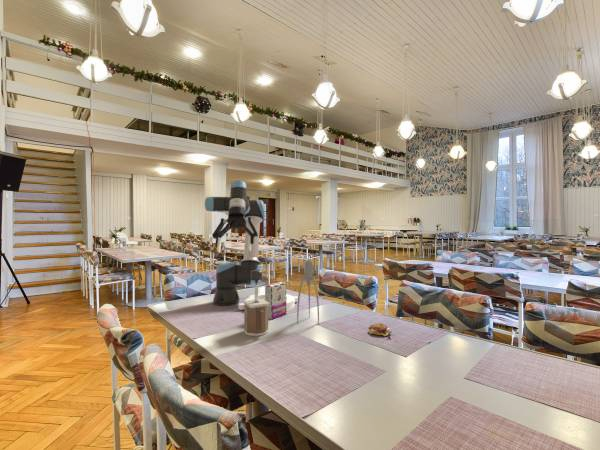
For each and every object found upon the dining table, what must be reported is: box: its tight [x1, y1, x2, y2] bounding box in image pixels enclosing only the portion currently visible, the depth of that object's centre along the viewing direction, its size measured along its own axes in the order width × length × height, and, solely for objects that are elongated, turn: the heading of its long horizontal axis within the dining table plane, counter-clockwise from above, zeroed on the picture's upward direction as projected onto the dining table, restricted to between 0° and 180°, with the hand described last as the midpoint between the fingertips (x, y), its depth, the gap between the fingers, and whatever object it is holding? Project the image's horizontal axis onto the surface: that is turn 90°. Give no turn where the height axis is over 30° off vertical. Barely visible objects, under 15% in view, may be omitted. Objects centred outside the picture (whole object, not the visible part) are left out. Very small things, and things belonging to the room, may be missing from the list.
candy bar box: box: [264, 281, 287, 320], centre depth 157 cm, size 11×5×16 cm, turn 142°
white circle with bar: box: [237, 292, 298, 312], centre depth 176 cm, size 28×28×5 cm
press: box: [242, 299, 270, 337], centre depth 134 cm, size 13×10×13 cm
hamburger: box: [368, 322, 392, 338], centre depth 133 cm, size 14×14×6 cm
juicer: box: [296, 258, 320, 324], centre depth 151 cm, size 10×9×30 cm
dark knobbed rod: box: [251, 270, 263, 303], centre depth 135 cm, size 5×5×18 cm
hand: (234, 251), depth 136 cm, fingers open, 13 cm apart
